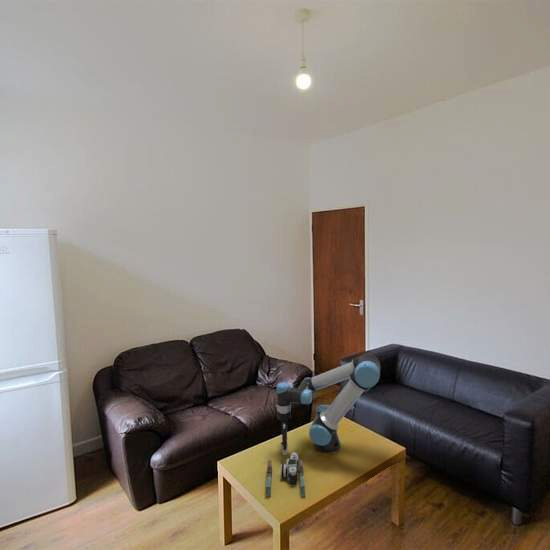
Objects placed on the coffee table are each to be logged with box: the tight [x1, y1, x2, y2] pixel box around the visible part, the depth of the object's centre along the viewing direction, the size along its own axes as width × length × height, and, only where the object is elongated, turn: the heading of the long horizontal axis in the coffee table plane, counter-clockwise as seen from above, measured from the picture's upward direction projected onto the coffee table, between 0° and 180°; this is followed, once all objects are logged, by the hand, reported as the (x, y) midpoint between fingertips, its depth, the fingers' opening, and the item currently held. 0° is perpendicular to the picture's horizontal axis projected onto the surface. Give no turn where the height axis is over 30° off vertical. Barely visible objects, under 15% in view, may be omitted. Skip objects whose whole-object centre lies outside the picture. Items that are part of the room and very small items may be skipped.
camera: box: [280, 451, 299, 487], centre depth 182 cm, size 16×9×10 cm, turn 174°
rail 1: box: [265, 459, 273, 498], centre depth 177 cm, size 2×20×5 cm, turn 179°
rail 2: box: [298, 459, 306, 497], centre depth 177 cm, size 2×20×5 cm, turn 179°
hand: (284, 447), depth 202 cm, fingers open, 13 cm apart
